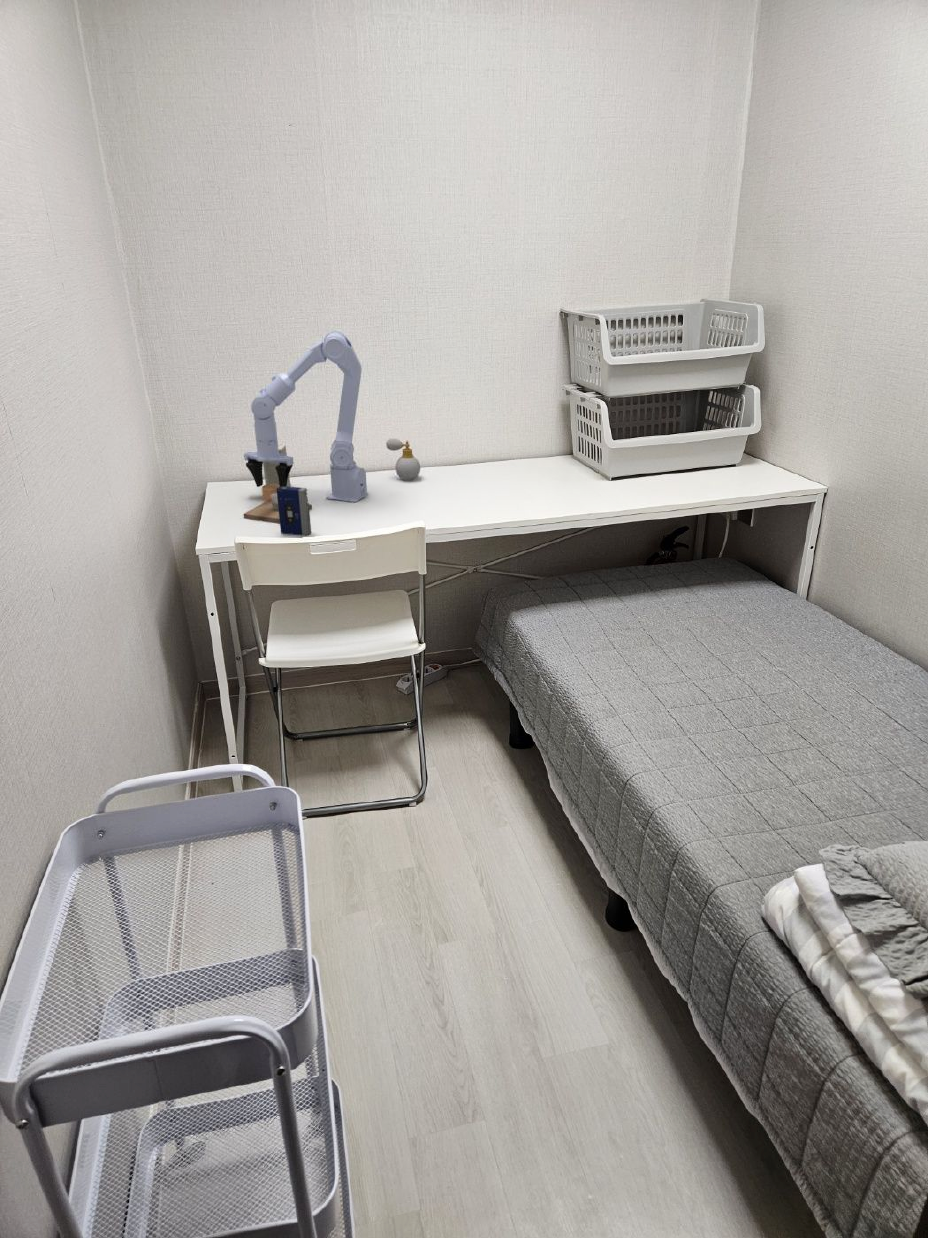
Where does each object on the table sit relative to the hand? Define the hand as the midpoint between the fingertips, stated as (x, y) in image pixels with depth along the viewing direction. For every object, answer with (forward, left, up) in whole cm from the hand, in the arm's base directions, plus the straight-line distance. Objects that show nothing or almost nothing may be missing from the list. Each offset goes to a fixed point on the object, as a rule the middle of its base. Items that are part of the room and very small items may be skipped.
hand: (271, 487), depth 231 cm
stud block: (-8, +10, -3) cm, 13 cm away
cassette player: (-20, +21, -4) cm, 29 cm away
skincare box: (+4, -9, -4) cm, 10 cm away
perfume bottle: (-27, -30, -4) cm, 41 cm away
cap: (0, 0, -3) cm, 3 cm away
